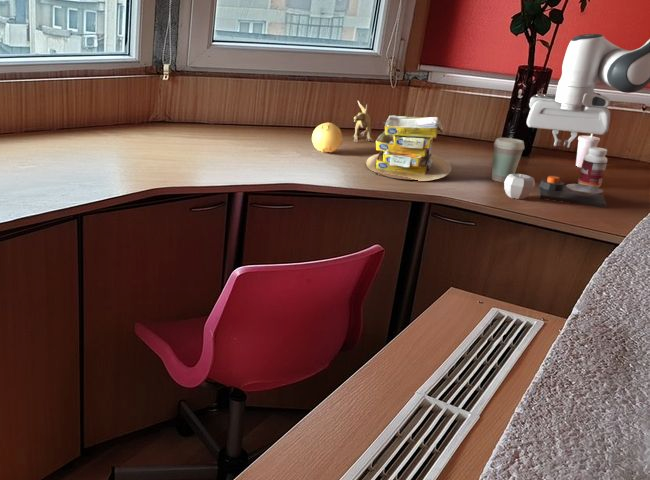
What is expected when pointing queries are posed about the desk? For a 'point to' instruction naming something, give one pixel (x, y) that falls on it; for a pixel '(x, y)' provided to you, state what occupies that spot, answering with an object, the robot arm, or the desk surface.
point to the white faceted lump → (518, 185)
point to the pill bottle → (593, 167)
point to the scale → (568, 195)
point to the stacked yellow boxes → (409, 149)
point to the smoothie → (585, 147)
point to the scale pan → (584, 189)
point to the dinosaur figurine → (362, 124)
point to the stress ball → (327, 137)
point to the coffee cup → (506, 157)
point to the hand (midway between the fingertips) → (561, 146)
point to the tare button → (553, 179)
